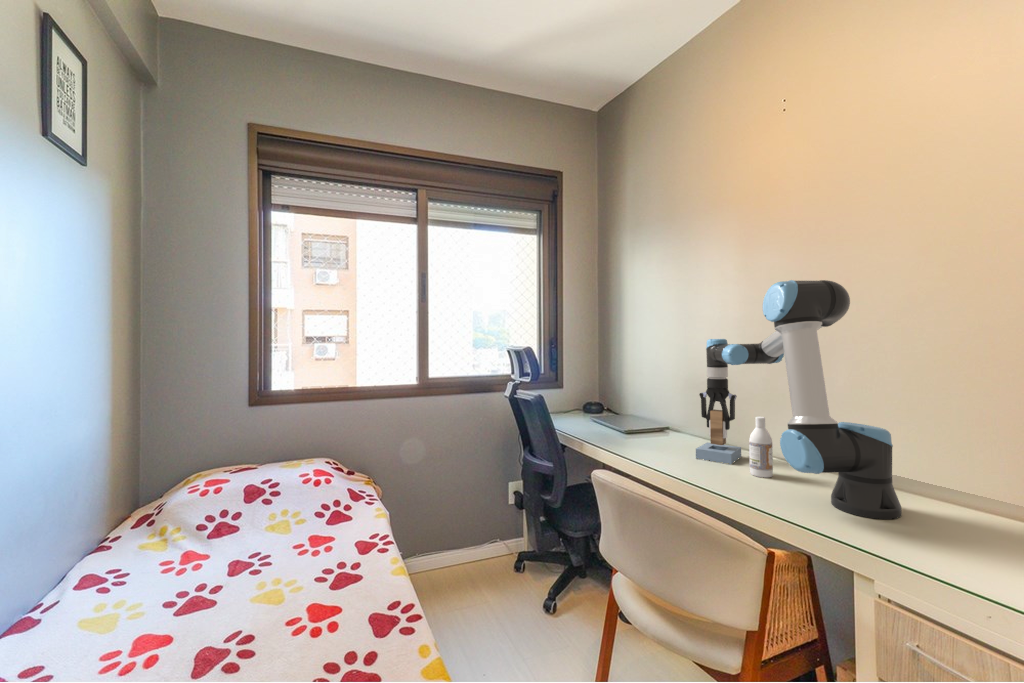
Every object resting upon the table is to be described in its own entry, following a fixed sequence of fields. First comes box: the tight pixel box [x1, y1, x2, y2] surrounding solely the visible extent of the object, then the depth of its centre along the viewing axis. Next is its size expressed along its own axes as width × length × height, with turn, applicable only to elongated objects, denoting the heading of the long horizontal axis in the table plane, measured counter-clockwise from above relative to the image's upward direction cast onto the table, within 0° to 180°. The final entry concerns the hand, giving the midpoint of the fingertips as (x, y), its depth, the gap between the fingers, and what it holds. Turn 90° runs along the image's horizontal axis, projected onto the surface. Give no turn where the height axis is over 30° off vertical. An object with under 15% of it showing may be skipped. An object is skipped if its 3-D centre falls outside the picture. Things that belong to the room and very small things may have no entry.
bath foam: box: [748, 416, 774, 479], centre depth 152 cm, size 7×7×20 cm
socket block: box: [695, 442, 742, 465], centre depth 174 cm, size 13×13×4 cm
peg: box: [710, 409, 727, 445], centre depth 174 cm, size 4×4×13 cm
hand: (718, 436), depth 174 cm, fingers closed on peg, 4 cm apart
